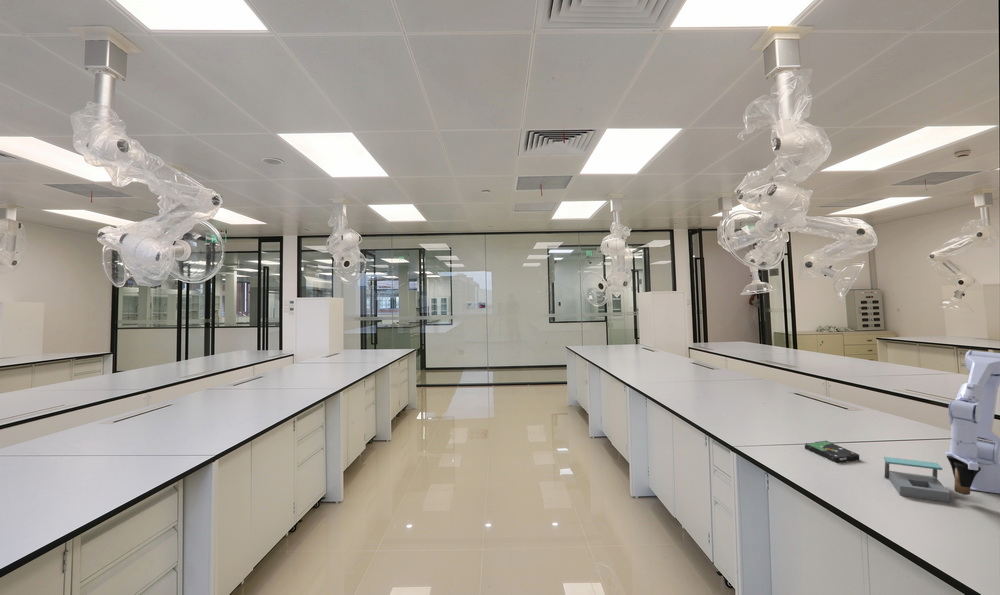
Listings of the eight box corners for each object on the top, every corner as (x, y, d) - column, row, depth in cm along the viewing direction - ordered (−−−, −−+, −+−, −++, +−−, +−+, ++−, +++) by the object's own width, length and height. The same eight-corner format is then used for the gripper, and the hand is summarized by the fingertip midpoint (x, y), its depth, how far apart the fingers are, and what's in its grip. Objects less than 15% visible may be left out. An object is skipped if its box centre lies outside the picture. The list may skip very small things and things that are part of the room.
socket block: (934, 485, 157) (935, 476, 157) (949, 502, 146) (949, 492, 146) (888, 479, 162) (889, 470, 162) (899, 495, 151) (900, 485, 151)
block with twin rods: (936, 483, 158) (937, 462, 158) (941, 489, 154) (942, 468, 154) (883, 476, 164) (884, 456, 164) (887, 481, 160) (887, 461, 160)
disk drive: (860, 461, 178) (825, 446, 193) (860, 454, 178) (826, 439, 192) (836, 464, 176) (803, 449, 191) (836, 457, 176) (803, 442, 190)
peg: (967, 490, 147) (968, 468, 146) (972, 495, 144) (973, 473, 143) (952, 488, 148) (953, 466, 148) (957, 493, 145) (957, 471, 145)
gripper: (937, 430, 153) (936, 471, 154) (956, 447, 140) (955, 491, 141) (966, 433, 150) (965, 475, 151) (988, 450, 137) (987, 496, 138)
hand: (962, 483), depth 146 cm, fingers closed on peg, 3 cm apart
